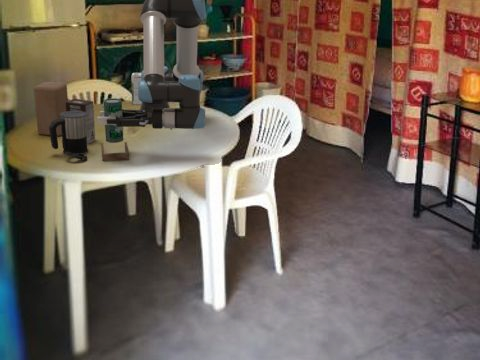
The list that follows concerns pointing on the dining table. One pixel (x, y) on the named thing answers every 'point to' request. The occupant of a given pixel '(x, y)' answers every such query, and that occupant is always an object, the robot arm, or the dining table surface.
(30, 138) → the dining table surface
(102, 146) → the brown flat u-shaped piece
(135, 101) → the syrup box
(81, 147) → the milk frother
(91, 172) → the dining table surface
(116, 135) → the can
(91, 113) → the coffee box
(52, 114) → the block
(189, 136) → the dining table surface
